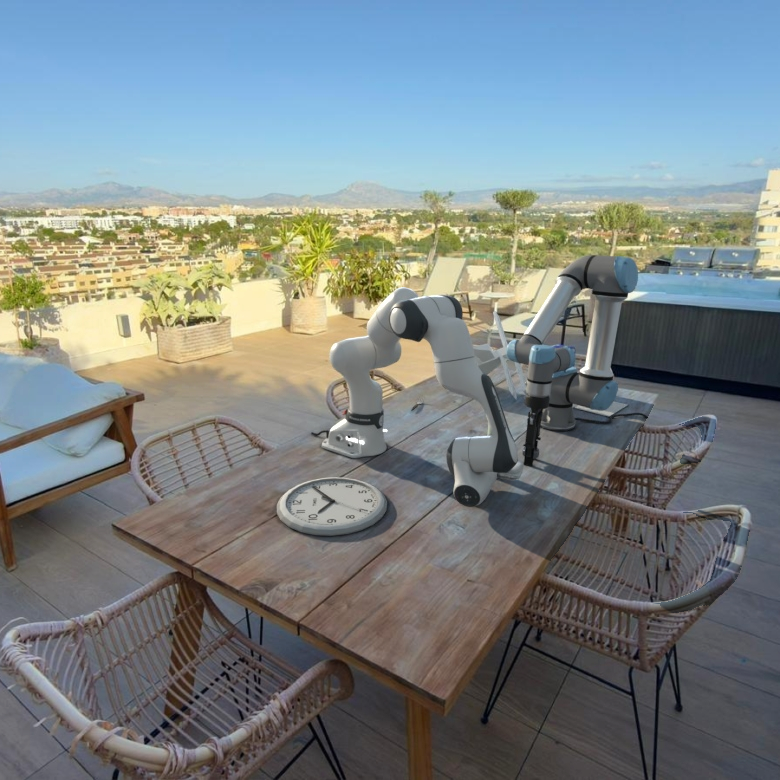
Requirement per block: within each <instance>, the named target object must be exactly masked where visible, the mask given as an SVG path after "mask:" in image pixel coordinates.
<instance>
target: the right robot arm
mask: <svg viewBox="0 0 780 780" xmlns="http://www.w3.org/2000/svg"><path fill="white" fill-rule="evenodd" d="M638 281H639V270H638V266H637V264H636V261H635V260H634V259H633V258H631V257H627V256H622V255H618V256H617V255H598V254H597V255H596V254H587V255H584V256H581V257H579V258H577V259H575V260H574V261H572V262H571V263H569V264H568V265H567V266H566V267H565V268H564V269H562V271H561V272H560V273H559V275H557V278H556V279H555V282H554V284H555V286H554V287H553V289H552V291H551V292H550V293H549V295H548V296H547V298H546V299H545V301H544V303H543V304H542V306H541V307H540V308H539V311H538V312H537V313H536V315H535V317H534V318H533V320H532V321H531V322H530V324H529V326H528V327H527V329H526V330H525V332H524V333H523V335H522V336H521V338H520V339H513V340H511V341H510V342H509V343H507V344H508V346H507V350H506V354H507V357H508V359H509V360H508V361H511V362H513V363H514V362H517V363H519V364H520V365H521V364H522V365H526V366H528V369H527V378H526V382H525V385H527V387H526V392H527V393H526V394H525V393H524V406H525V407H527V408H530V409H529V411H528V412H527V413H528V414H527V419H526V421H527V423H526V433H525V441H524V444H523V445H522V446H523V447H526V449H525V456H524V459H523V466H528V467H529V466H530V467H533V465H534V460H535V461H536V460H537V458H534V449H535V447H537V448H538V445H539V441H541V439H542V437H541V428H542V429H544V430H549V431H556V432H567V431H572V430H574V429H575V428H576V421H579V422H580V421H581V422H588V423H594V424H601V425H605V424H610V423H612V421H613V418H618V417H631V416H641V417H644V418H645V419H649V416H648V415H646V414H645V413H643V412H630V413H618V414H613V415H611V416H609V417H608V418H609V419H608V420H603V421H602V420H596V419H589V418H582V417H576V416H575V413H574V407H573V405H575V406H578V405H579V406H583V407H587V408H590V409H592V410H593V409H594V410H599V411H604V410H606V409H608V408H609V407H610V406H611V404H612V403H613V401H614V402H615V399H616V397H617V395H618V391H619V383H618V382H617V381H616V380H614V373H613V371H612V370H611V366H612V361H613V354H614V348H615V345H616V344H615V343H616V338H617V333H618V332H617V331H618V326H619V320H620V316H621V309H622V303H623V302H624V301H625V300H627V299H628V297H629V294H631V293H633V292H634V291H635V290H636V287H637V285H638ZM586 289H589V290H591V296H592V297H593V299H594V300H595V301H594V307H593V314H592V320H591V326H590V332H589V338H588V345H587V350H586V356H585V362H584V366H583V367H582V368H580V369H579V371H578V368H577V367H576V366H575V365H574V364H576V360H577V359H576V357H577V356H575V355H576V352H575V353H574V352H573V350H572V349H570V348H568V347H559V348H555V347H552V346H553V345H549V344H545V343H546V342H547V340H548V338H549V337H550V335H551V334H552V332H553V331H554V329H555V327H556V326H557V324H558V322H559V321H560V320H561V318H562V316H563V315H564V313H565V311H566V310H567V308H568V307H569V306H570V304H571V302H572V301H573V299H574V297H576V296H577V297H578V296H579V295H580V294H581V292H582V291H583V290H586ZM573 365H574V367H572V366H573ZM533 458H534V459H533Z"/></svg>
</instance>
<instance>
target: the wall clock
mask: <svg viewBox="0 0 780 780" xmlns="http://www.w3.org/2000/svg"><path fill="white" fill-rule="evenodd" d="M387 509H388V500H387V498H386V496H385V494H384V493H383V492H382V491H381V490H380V489H379V488H377V487H376V486H374V485H372V484H371V483H369V482H365V481H362V480H359V479H355V478H349V477H338V476H337V477H335V476H333V477H332V476H331V477H322V478H317V479H312V480H307V481H305V482H302V483H299V484H297V485H295V486H293V487H292V488H290V489H288V490H287V491H286V492H285V493H284V494H283V495H281V496H280V498H279V499H278V502H277V503H276V515H277V517H278V518H279V520H280V521H281V522H282V523H283V524H285V525H286V526H287V527H288V528H290V529H293V530H295V531H297V532H299V533H303V534H308V535H312V536H327V537H328V536H329V537H331V536H332V537H333V536H342V535H350V534H352V533H356V532H361V531H363V530H366V529H368V528H369V527H372V526H373V525H375V524H376V523H378V522H379V521H380V520H381V519H382V518H383V517H384V516H385V514H386V512H387Z"/></svg>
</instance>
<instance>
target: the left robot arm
mask: <svg viewBox="0 0 780 780" xmlns="http://www.w3.org/2000/svg"><path fill="white" fill-rule="evenodd" d="M463 315H464V312H463V308H462V305H461V302H460V301H459V299H457V298H456V297H454V296H453V295H452V296H451V295H449V294H448V295H447V294H438V295H423V296H419V295H418V294H417V293H416V291H414V290H413V289H411V288H408V287H398V288H396V289H395V290H393V291H391V293H390V294H389V295H387V297H386V298H385V299H384V300H383V301H381V303H380V305H379V306H378V307H377V309H376V310H375V311H374V313H373V314H372V315H371V317H370V319H369V320H368V321H367V323H366V333H367V335H365V336H358V337H350V338H345V339H342V340H340V341H337V342H335V343H333V345H332V346H331V347H330V350H329V354H328V356H329V357H328V358H329V362H330V365H331V366H332V368H333V370H335V372H337V373H339V374H340V375H341V376H342V377H343V379H344V380H345V383H346V384H347V387H348V397H349V401H348V402H349V406H348V407H347V408H346V409H345V410H344V411H342V416H344V415H345V416H344V418H342V419H341V420H340V421H338V422H337V423H335V424H334V425H333V426H332V427H330V428H328V429H323V430H320V431H319V432H318V433H317V432H316V433H315V432H311V433H310V434H311V435H313V436H317V437H318V436H320V435H322V434H324V433H325V435H326V436H325V439H324V440H323V441H322V443H321V449H324V450H327V451H329V452H333V453H335V454H339V455H341V456H344V457H349V458H352V459H359V458H364V457H374V456H377V455H381V454H383V453H385V452H386V451H387V448H388V447H387V444H386V439H385V433H384V432H386V433H387V432H388V429H386V428H385V429H384V422H385V415H384V413H385V409H384V408H383V400H384V399H383V398H384V397H383V393H384V390H383V388H382V385H381V384H380V383H379V382H378V381H376V380H374V379H372V378H371V375H370V373H371V370H376V369H383V368H387V367H390V366H392V365H393V364H396V363H398V362H399V360H400V359H401V356H402V345H401V343H400V340H401V339H403V340H409V341H413V342H416V343H420V342H422V341H423V340H426V341H427V342H428V344H429V345H430V348H431V354H432V360H433V367H434V368H433V369H434V374H435V376H436V379H437V382H438V383H439V384H440V385H441V387H443V388H444V389H445V390H446V391H449V392H450V393H453V394H456V395H460V396H464V397H467V398H470V399H472V400H475V401H476V402H478V403H479V404H480V405H481V407H482V409H483V412H484V415H485V418H486V421H487V425H488V424H489V427H490V430H491V433H492V435H488V436H487V435H475V436H473V435H469V436H459V437H457V436H456V437H455V438H453V439H452V441H451V442H450V444H449V446H448V448H447V449H446V455H445V456H446V457H445V458H446V463H447V468H448V471H449V473H450V474H451V476H452V477H453V479H454V485H453V489H452V490H453V492H452V493H453V497H454V499H455V501H457V502H458V504H460V505H461V506H463V507H468V508H474V507H477V506H479V505H481V504H482V503H483V502H484V501H485V500H486V498H487V497H488V495H489V494H490V492H491V490H492V488H493V487H494V485H495V483H496V481H497V479H502V480H506V481H516V480H519V479H520V478H521V477H522V474H523V472H524V461H522V460H519V451H518V447H517V444H516V442H515V439H514V437H513V435H512V433H511V430H510V427H509V424H508V422H507V419H506V415H505V413H504V410H503V406H502V403H501V400H500V397H499V395H498V392H497V389H496V387H495V384H494V382H493V379H492V378H491V377H490V376H489V374H487V375H485V374H483V373H482V371H481V370H480V369H479V367H478V365H477V363H476V360H475V354H474V348H473V347H474V344H473V340H472V337H471V333H470V331H469V328H468V325H467V323H466V322H465V320H463Z"/></svg>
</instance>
